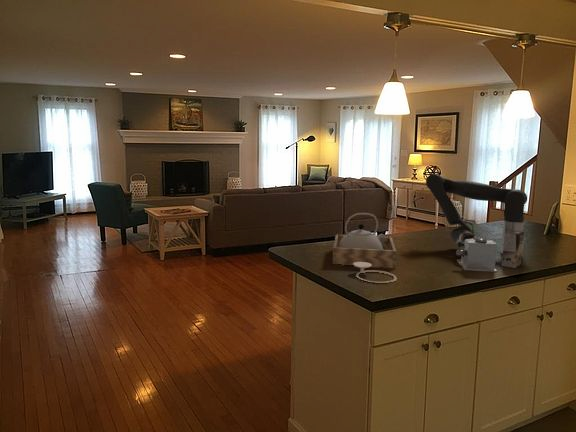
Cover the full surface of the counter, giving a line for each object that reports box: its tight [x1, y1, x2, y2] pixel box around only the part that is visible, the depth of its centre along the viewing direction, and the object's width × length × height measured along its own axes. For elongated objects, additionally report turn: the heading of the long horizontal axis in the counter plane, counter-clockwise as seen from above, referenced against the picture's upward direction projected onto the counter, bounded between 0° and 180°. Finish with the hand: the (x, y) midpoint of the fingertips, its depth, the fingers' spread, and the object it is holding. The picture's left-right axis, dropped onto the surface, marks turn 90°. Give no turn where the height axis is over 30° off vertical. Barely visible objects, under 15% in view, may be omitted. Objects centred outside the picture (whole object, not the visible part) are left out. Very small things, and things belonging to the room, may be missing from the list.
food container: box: [458, 218, 478, 235], centre depth 284 cm, size 12×6×10 cm, turn 22°
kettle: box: [338, 212, 386, 250], centre depth 228 cm, size 25×23×22 cm
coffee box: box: [501, 230, 525, 269], centre depth 221 cm, size 9×6×16 cm
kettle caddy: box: [332, 234, 397, 269], centre depth 229 cm, size 28×30×8 cm
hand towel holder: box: [353, 262, 397, 284], centre depth 199 cm, size 17×4×20 cm
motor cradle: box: [455, 237, 498, 273], centre depth 218 cm, size 17×17×14 cm
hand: (476, 247), depth 221 cm, fingers open, 8 cm apart
